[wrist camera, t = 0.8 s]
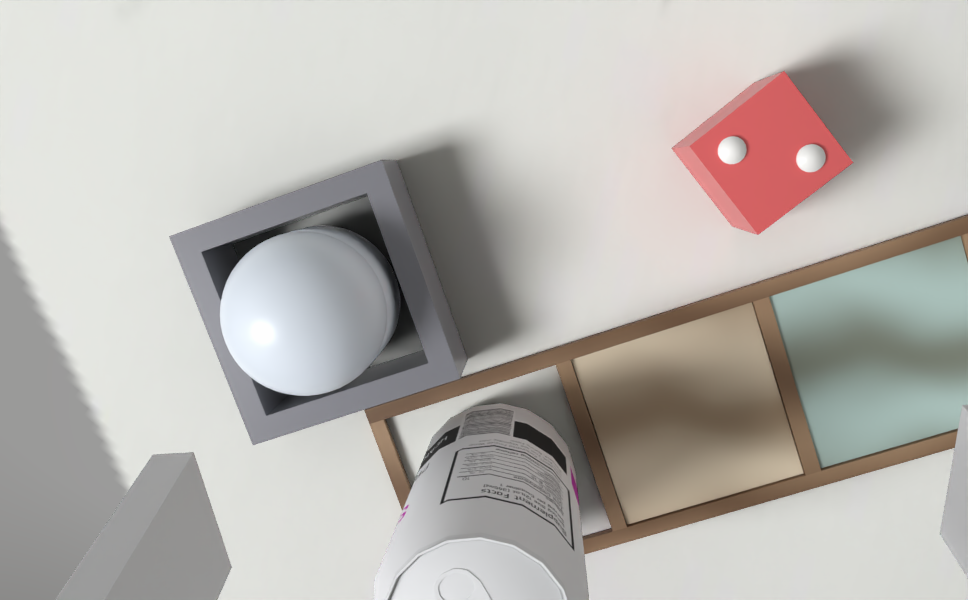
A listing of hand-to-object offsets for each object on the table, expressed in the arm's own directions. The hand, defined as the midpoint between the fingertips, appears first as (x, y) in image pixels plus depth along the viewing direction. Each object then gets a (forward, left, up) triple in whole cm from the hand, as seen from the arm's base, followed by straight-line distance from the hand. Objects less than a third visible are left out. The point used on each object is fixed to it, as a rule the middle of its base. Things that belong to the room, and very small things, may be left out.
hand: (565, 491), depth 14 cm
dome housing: (+3, +11, -28) cm, 31 cm away
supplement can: (-9, +6, -29) cm, 31 cm away
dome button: (+3, +11, -27) cm, 29 cm away
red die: (+3, -11, -28) cm, 30 cm away
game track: (-9, -4, -28) cm, 30 cm away
